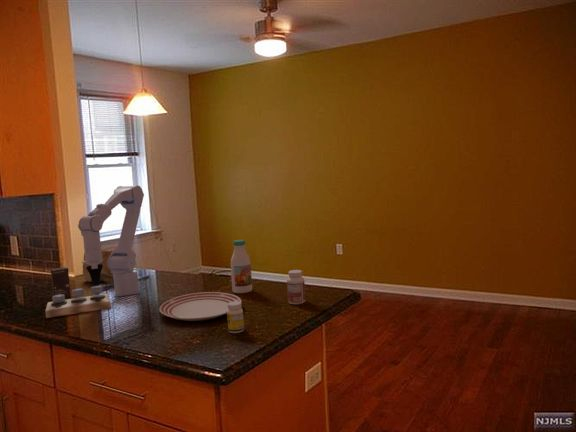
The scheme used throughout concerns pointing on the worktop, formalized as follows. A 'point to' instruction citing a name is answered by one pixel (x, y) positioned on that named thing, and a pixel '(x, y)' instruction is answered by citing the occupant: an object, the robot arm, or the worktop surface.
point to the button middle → (77, 292)
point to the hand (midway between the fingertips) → (96, 284)
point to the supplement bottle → (235, 317)
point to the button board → (78, 305)
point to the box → (60, 281)
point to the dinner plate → (198, 306)
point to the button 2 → (96, 289)
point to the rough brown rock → (105, 271)
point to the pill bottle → (295, 287)
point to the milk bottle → (240, 268)
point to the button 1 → (58, 298)
